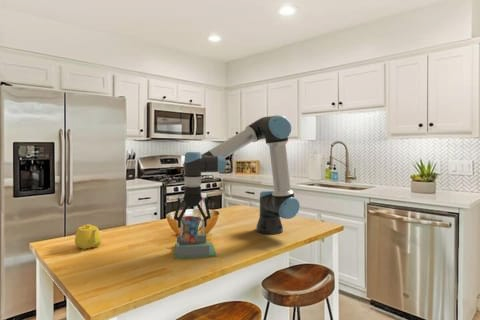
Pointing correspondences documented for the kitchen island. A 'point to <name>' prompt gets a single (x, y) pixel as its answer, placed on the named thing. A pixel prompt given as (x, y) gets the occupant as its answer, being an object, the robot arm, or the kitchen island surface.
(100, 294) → the kitchen island surface
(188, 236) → the mug
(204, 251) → the grey stepped block
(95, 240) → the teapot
